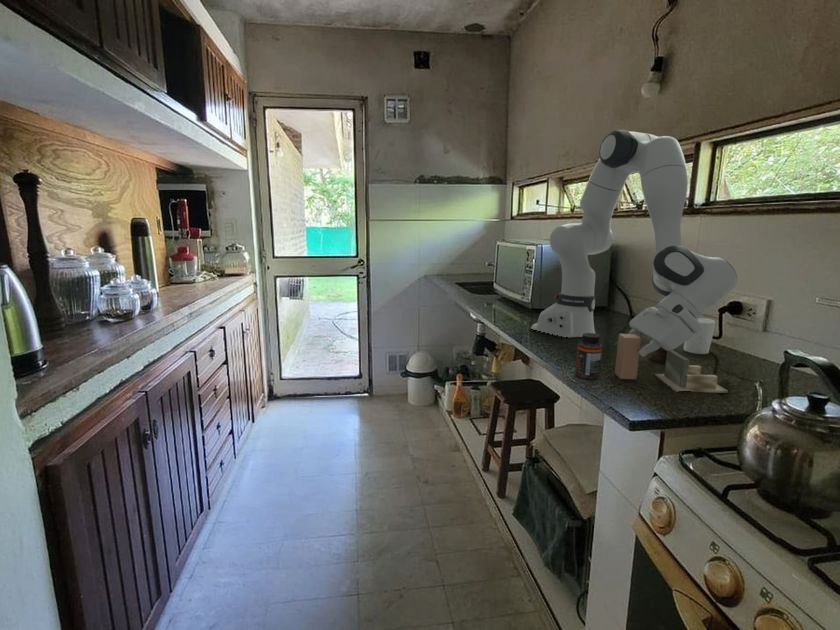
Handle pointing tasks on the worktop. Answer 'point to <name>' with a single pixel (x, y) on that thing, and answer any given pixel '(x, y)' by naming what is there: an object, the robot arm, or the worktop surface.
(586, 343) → the supplement bottle
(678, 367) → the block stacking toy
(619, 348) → the pink rectangular block
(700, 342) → the white cup
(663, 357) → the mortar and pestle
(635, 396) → the worktop surface
